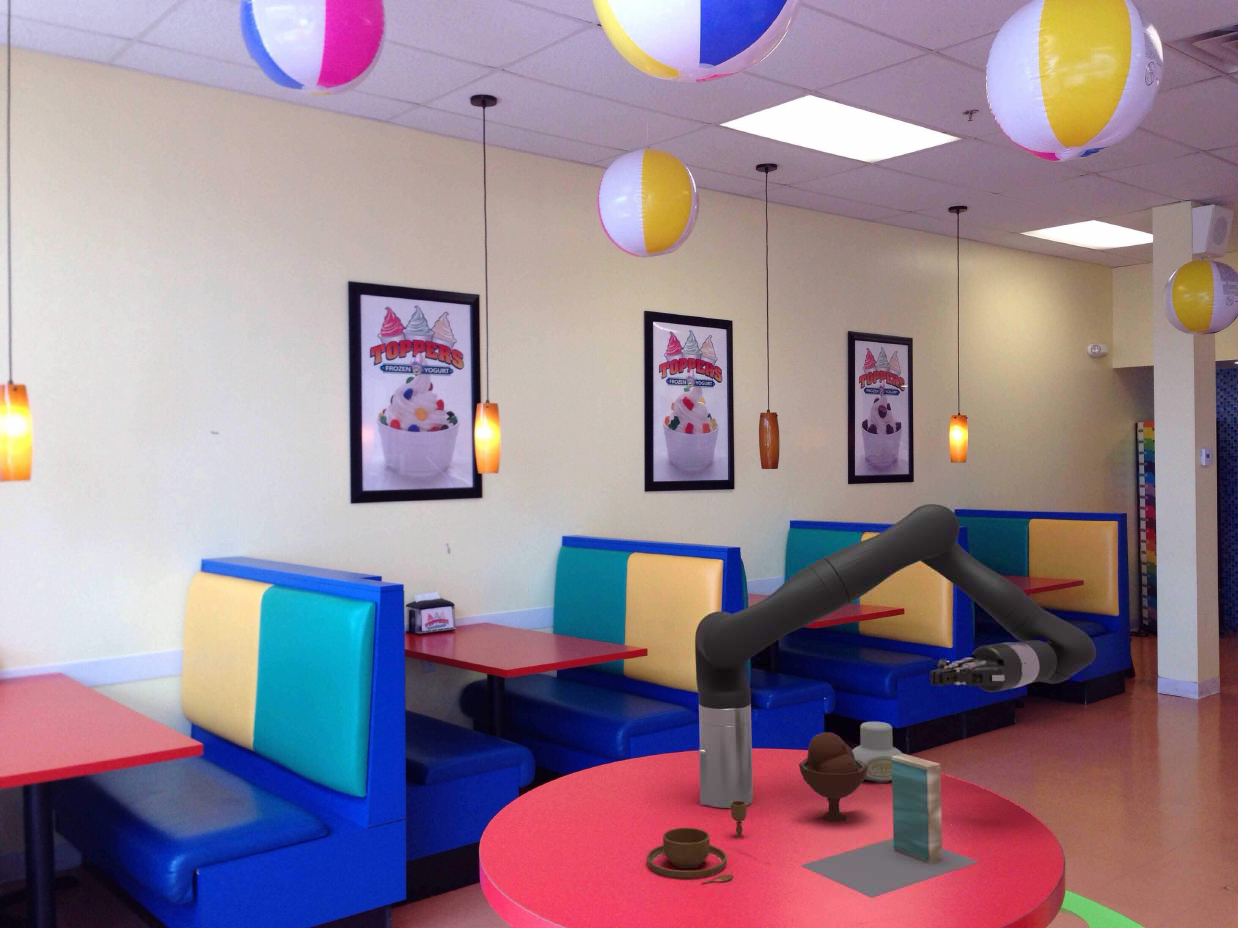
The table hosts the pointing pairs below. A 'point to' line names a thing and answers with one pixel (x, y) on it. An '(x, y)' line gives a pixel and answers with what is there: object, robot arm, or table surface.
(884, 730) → the air freshener
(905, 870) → the mat
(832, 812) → the ice cream bowl
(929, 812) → the tile
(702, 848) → the place setting
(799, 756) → the table surface
